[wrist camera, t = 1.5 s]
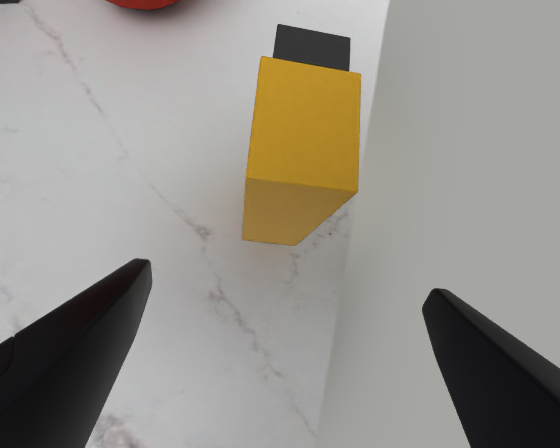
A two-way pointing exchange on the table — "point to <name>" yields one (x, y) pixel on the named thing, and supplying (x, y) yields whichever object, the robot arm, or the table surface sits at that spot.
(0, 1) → the ammunition clip
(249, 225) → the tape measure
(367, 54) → the table surface
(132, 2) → the apple
